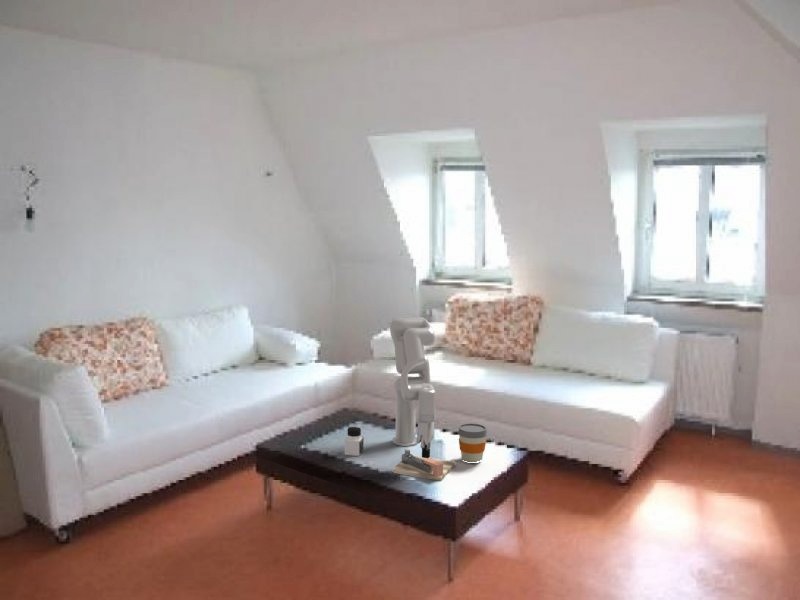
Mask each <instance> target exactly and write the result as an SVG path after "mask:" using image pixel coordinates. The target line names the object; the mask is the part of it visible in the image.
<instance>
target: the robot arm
mask: <svg viewBox="0 0 800 600" xmlns="http://www.w3.org/2000/svg"><path fill="white" fill-rule="evenodd" d="M389 332H390V337H391V339H392V341H393V344H394V356H395V357H394V358H395V367H396V369H395V370H396V373H398V374H399V375H400V378H397V379H396V380H395V381H394V384H393V389H394V397H395V399H394V400H395V436H394V437H393V438H391V439H392V441H391V442H392V443H393V444H394V445H396V446H400V447H413V446H415V444H416V443H417V444H418V445H419V444H420V448H421V457H422V458H431V446H432V445H431V443H432V441H433V440H434V439H435V422H436V399H437V398H436V397H437V394H436V393H437V392H436V389H434V386H433V385H432V384H431V373H430V371H431V369H430V362H429V361H430V360H429V358H428V356H427V355H426V354H425V347H428V346H429V347H430V346H433V345H434V344H435V342H436V341H435V340H436V334H435V331H434V329H433V327H432V326H431V324H430V323H429V321H428V320H427V319H426V318H424V317H422V316H421V317H419V316H418V317H399V318H398V317H397V318H394V319H392V320H391V322H390V324H389ZM409 375H418V376H409ZM415 402H417V421H418V422H417V421H416V404H415ZM416 422H417V429H416ZM417 444H416V445H417Z"/></svg>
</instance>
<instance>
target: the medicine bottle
mask: <svg viewBox="0 0 800 600" xmlns="http://www.w3.org/2000/svg"><path fill="white" fill-rule="evenodd" d="M364 439H365V438H364V436H363V435H362V429H361V427H359V426H355V425H354V426H350V427H349V426H348V427H347V437H346V438H345V439H344V455H345V456H353V457H354V456H356V457H360V456H361V454H362V453H363V452H364Z"/></svg>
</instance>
